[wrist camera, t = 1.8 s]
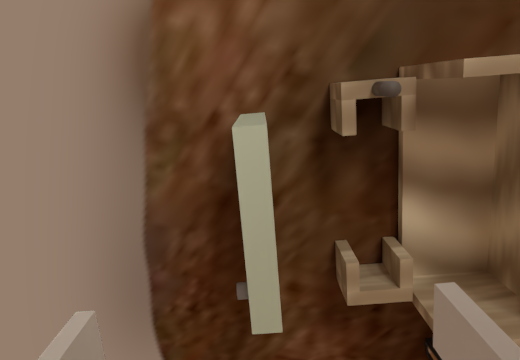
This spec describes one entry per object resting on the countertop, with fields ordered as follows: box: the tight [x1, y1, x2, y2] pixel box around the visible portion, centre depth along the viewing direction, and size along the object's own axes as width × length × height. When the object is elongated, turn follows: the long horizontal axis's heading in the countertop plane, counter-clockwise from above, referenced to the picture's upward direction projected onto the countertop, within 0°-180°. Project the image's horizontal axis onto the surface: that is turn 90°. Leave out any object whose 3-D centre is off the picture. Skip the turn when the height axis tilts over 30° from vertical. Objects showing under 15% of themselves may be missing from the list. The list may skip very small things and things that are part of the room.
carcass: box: [330, 54, 520, 347], centre depth 28 cm, size 19×14×10 cm
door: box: [232, 112, 283, 334], centre depth 28 cm, size 14×3×10 cm, turn 5°
